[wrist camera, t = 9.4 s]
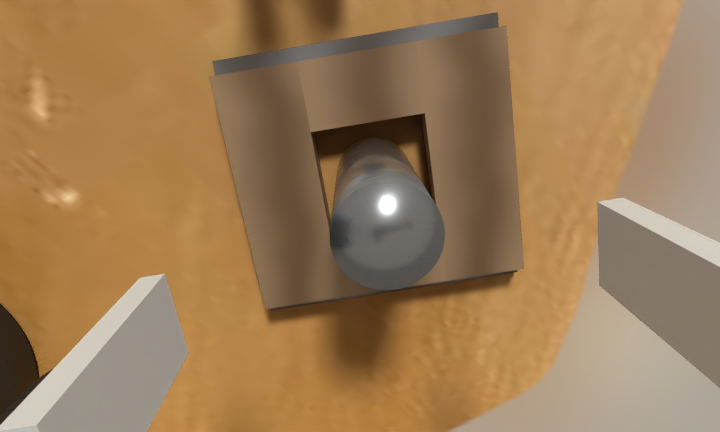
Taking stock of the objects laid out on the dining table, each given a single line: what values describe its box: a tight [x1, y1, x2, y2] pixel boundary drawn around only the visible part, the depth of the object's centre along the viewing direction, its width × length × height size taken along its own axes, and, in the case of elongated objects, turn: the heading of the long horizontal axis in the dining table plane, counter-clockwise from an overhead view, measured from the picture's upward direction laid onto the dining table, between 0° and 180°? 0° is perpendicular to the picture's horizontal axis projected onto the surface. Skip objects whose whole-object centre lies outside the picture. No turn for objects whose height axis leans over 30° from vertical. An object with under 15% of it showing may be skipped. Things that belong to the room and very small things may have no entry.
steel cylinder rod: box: [330, 137, 445, 290], centre depth 25 cm, size 4×4×12 cm
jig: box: [209, 12, 524, 310], centre depth 30 cm, size 16×16×2 cm
